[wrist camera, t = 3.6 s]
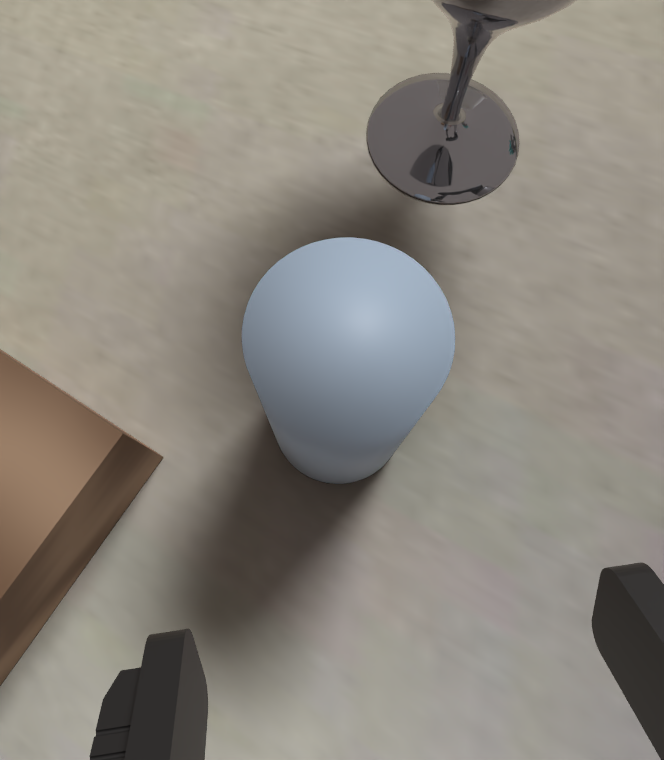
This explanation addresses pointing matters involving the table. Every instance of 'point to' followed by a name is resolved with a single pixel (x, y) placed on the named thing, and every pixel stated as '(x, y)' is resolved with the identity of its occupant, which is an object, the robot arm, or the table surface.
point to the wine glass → (453, 112)
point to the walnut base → (54, 497)
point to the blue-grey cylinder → (346, 353)
